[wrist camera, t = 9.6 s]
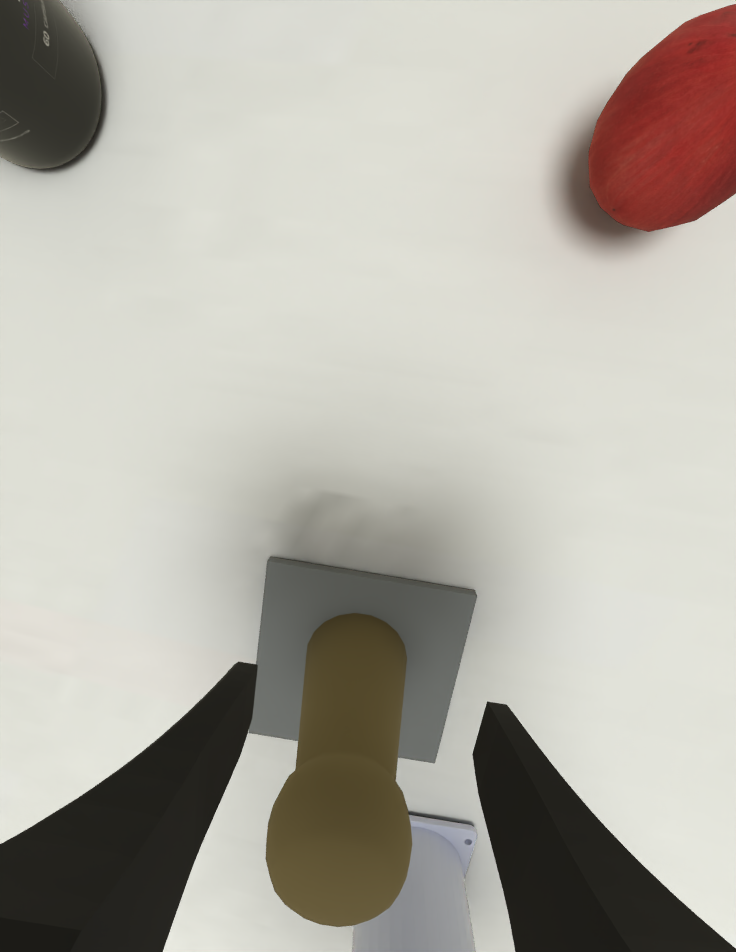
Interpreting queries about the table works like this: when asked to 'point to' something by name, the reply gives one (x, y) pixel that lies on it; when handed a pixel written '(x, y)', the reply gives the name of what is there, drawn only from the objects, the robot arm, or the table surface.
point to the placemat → (387, 598)
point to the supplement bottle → (45, 84)
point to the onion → (671, 129)
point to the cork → (345, 780)
